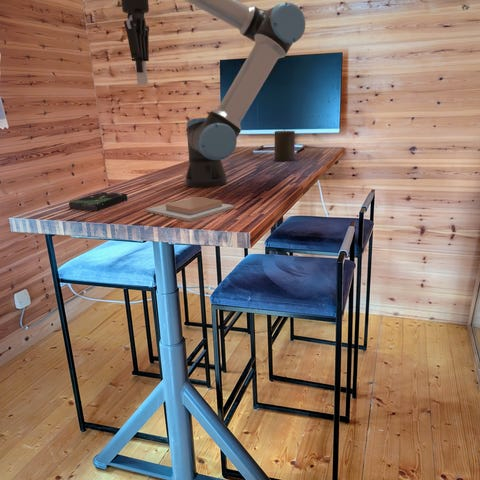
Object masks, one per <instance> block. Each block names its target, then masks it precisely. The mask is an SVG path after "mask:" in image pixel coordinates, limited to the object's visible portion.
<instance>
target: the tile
mask: <svg viewBox="0 0 480 480" xmlns="http://www.w3.org/2000/svg"><path fill="white" fill-rule="evenodd" d="M189 198H190V199H188V198H185V199H186V200H184V199H181V200H182V201H180V200H177V201H178V202H176V201H173V202H174V203H172V202H169V203H170V204H168V203H165V204H166V210H167V211H172V212H177V213H182V214H187V215H194V214H197V213H201V212H204V211H208V210H211V209H215V208H218V207H221V206H222V204H223V200H221V199H213V198H207V197H201V196H193V197H189Z"/></svg>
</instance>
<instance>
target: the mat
mask: <svg viewBox="0 0 480 480" xmlns="http://www.w3.org/2000/svg"><path fill="white" fill-rule="evenodd" d="M190 198H191V197H188V198H184V199H180V200H176V201H172V202H168V203H165V204H160V205H157V206H156V205H155V206H152V207H148V208H145V213H148V212H150V213H149V214H153V213H155V214H154V215H157V214H159V215H158V216H162V215H163V216H162V217H166V216H168V217H167V218H171V217H172V218H171V219H175V218H177V219H176V220H180V221H181V220H182V221H185V222H193V221H195V220H199V219H203V218H207V217H209V216H212V215H215V214H218V213H221V212H224V211H229V210H232V209H234V205H233V204H227V203H222V206H221V207H218V208H215V209H211V210H208V211H204V212H201V213H197V214H194V215H187V214H182V213H177V212H172V211H167V210H166V204H170V203H174V202H178V201H182V200H186V199H190Z"/></svg>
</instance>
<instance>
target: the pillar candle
mask: <svg viewBox="0 0 480 480" xmlns="http://www.w3.org/2000/svg"><path fill="white" fill-rule="evenodd" d="M295 137H296V132H295V130H286V129H285V128H284V129H283V130H275V131H274V161H275V162H292V161H295V155H296V154H295V147H296V145H295V144H296V141H295V139H296V138H295Z"/></svg>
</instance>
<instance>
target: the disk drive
mask: <svg viewBox="0 0 480 480" xmlns="http://www.w3.org/2000/svg"><path fill="white" fill-rule="evenodd" d="M124 201H125V202H127V201H128V194H127V193H119V192H118V193H117V192H110V193H108V192H103V191H102V192H98V193H94V194H92V195H91V194H90V195H88V196H84V197H81V198H78V199H74V200H72V201H69V202H68V206H69V210H74V211H85V212H86V211H88V212H99V211H101V210H104V209H105V210H106V209H108V208H110V207H113V206H116V205H118V204H122V203H124ZM121 202H122V203H121Z"/></svg>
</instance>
